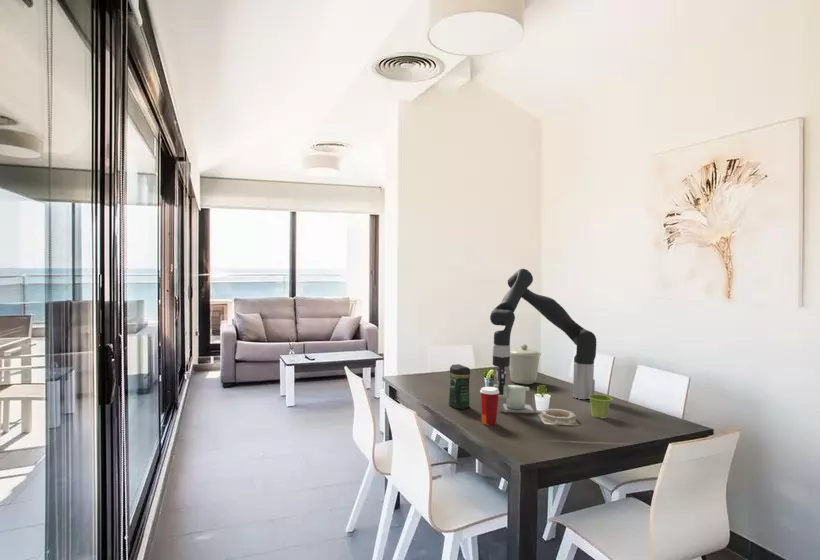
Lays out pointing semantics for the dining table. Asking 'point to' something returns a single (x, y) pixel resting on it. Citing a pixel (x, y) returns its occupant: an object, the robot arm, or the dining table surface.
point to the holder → (558, 417)
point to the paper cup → (489, 405)
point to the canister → (524, 365)
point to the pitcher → (514, 396)
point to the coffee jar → (459, 386)
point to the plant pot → (599, 405)
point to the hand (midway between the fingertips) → (500, 393)
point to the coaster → (525, 410)
